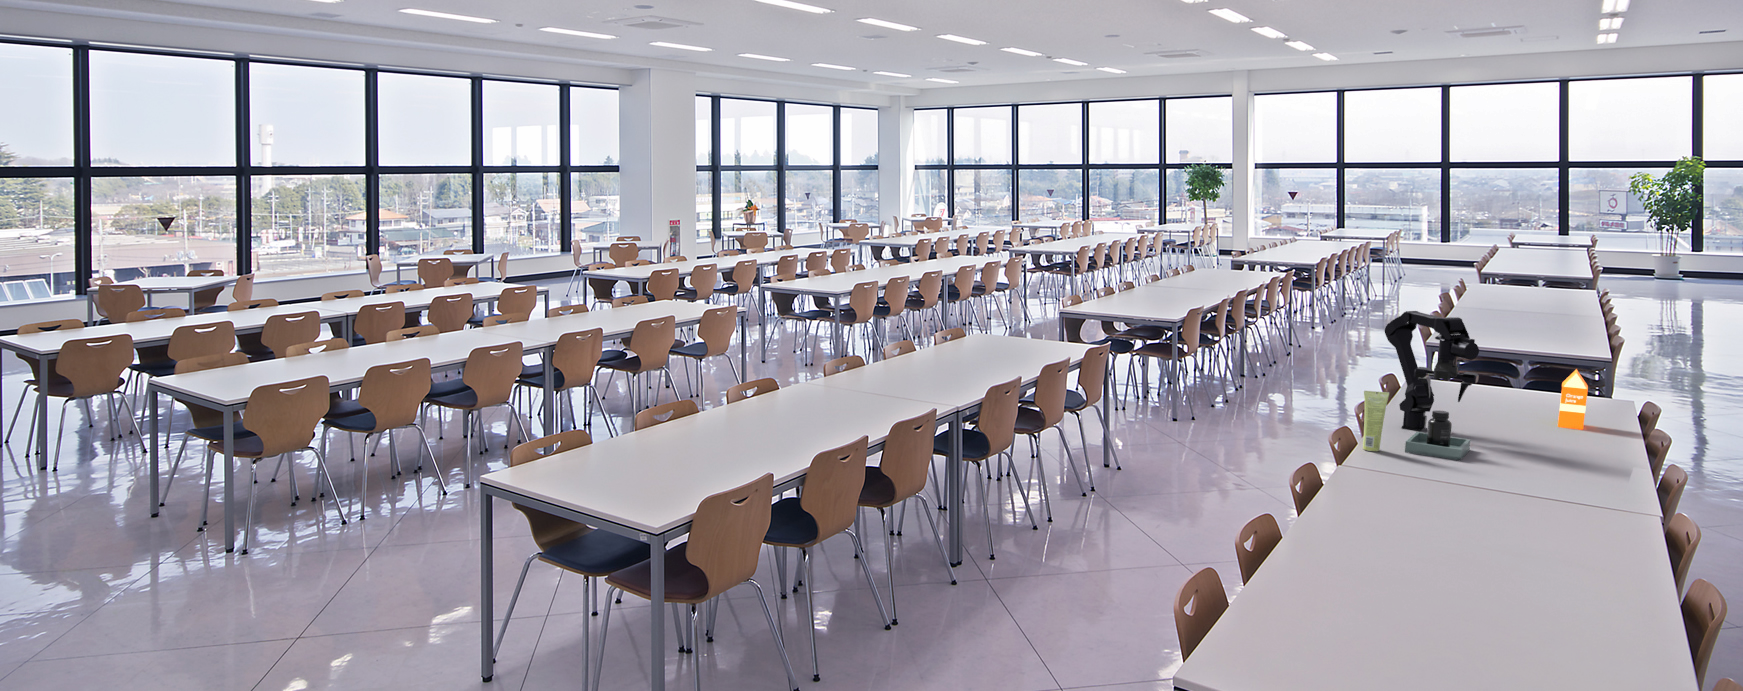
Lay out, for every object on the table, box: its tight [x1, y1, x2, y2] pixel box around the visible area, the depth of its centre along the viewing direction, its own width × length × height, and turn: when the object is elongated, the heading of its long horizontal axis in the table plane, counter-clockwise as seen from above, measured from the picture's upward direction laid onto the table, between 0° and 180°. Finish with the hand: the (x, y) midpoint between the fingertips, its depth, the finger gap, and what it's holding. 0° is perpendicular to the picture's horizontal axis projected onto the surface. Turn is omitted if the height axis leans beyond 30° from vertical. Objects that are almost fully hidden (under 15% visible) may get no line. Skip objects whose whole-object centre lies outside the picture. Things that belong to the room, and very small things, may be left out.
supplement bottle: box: [1426, 410, 1452, 447], centre depth 350 cm, size 7×7×12 cm
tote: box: [1404, 431, 1472, 461], centre depth 351 cm, size 16×16×4 cm
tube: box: [1362, 390, 1390, 452], centre depth 351 cm, size 6×5×20 cm
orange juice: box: [1557, 368, 1589, 431], centre depth 383 cm, size 8×9×20 cm
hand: (1443, 400), depth 366 cm, fingers open, 9 cm apart
